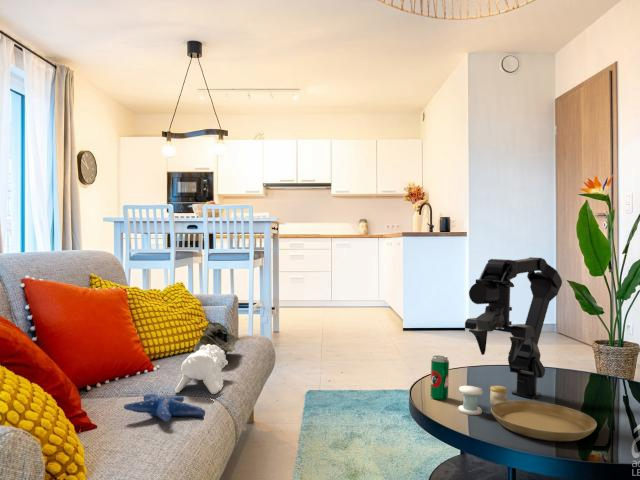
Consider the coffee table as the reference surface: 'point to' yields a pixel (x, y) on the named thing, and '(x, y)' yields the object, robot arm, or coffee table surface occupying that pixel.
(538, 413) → the plant saucer
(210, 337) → the hollow geode rock
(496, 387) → the brass peg
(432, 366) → the soda can
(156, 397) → the starfish
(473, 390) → the white spool
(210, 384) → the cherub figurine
